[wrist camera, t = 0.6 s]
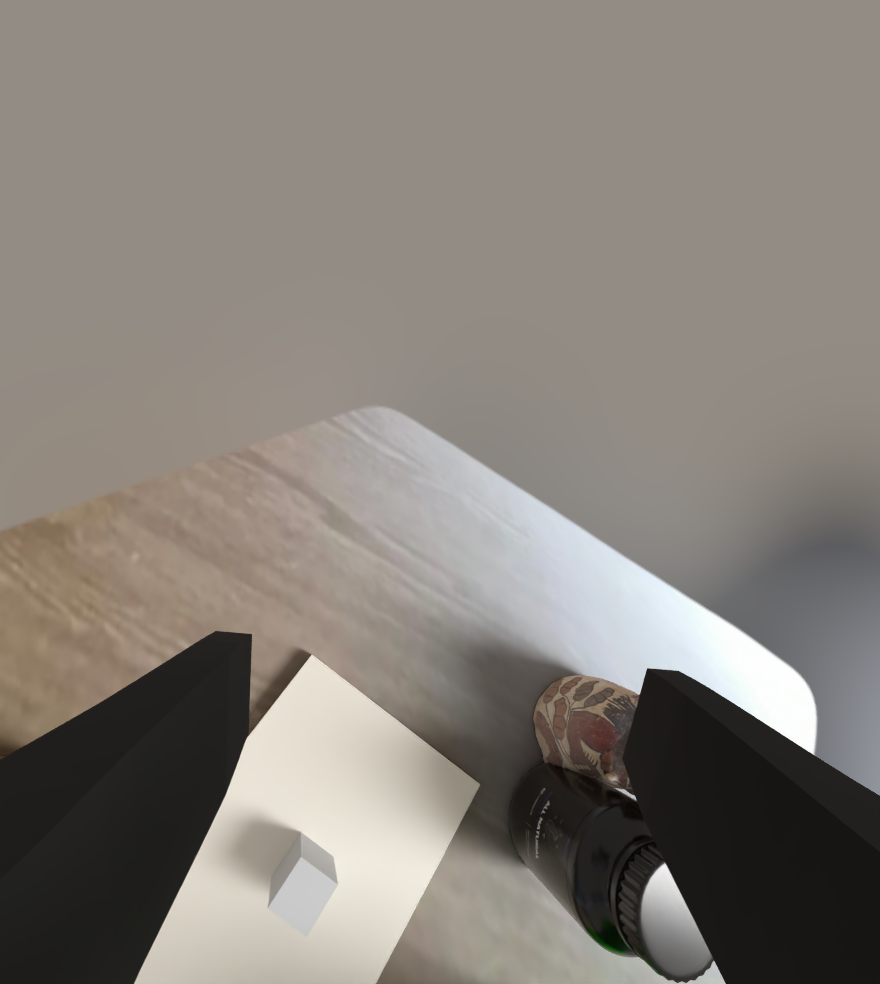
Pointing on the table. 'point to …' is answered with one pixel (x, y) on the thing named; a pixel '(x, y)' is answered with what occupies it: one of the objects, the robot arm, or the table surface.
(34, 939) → the robot arm
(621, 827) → the supplement bottle
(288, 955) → the board
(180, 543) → the table surface
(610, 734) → the figurine
